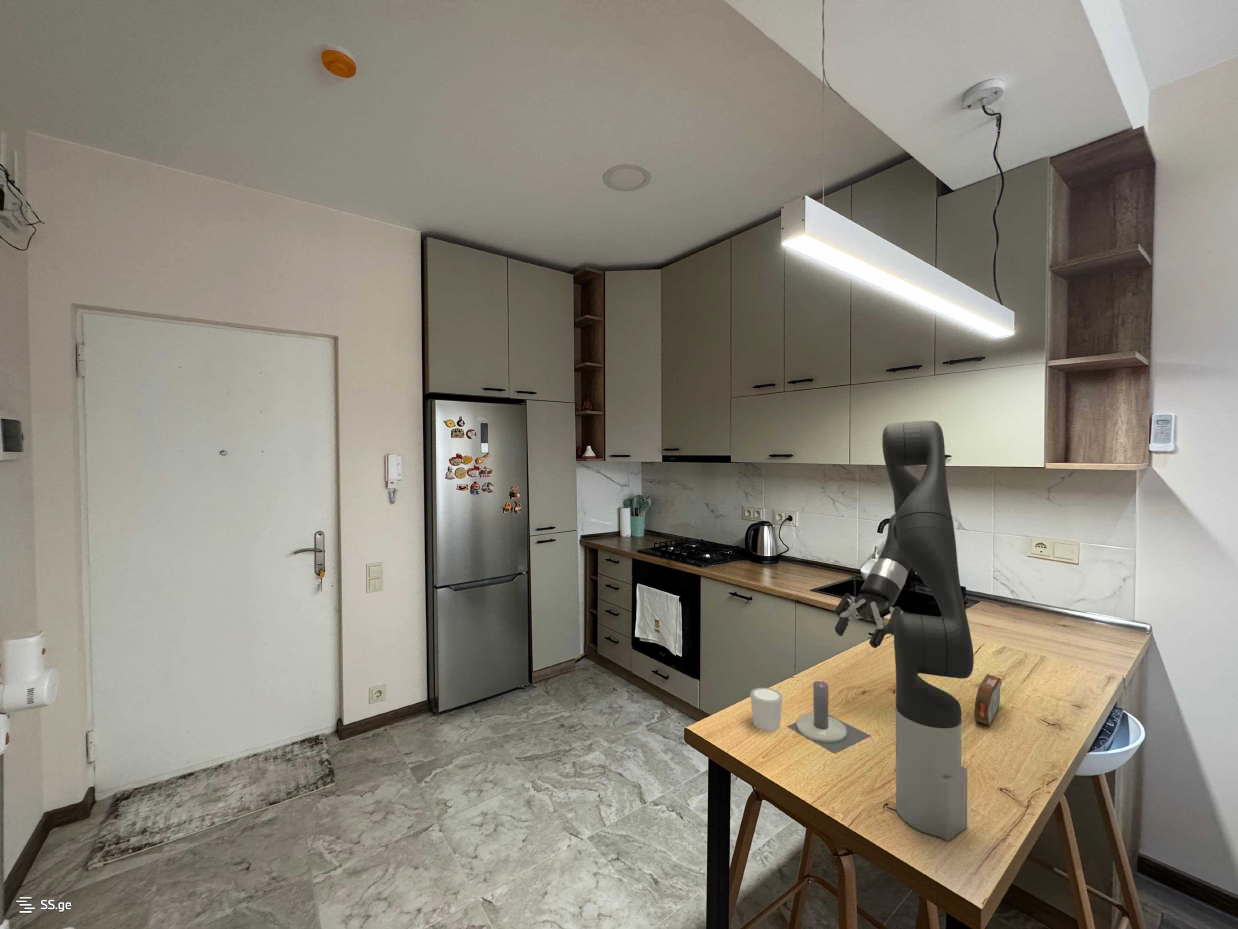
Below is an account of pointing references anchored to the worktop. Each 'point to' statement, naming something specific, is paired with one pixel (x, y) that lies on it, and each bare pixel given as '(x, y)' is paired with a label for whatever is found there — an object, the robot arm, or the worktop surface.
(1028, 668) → the worktop surface
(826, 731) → the peg on round base
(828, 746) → the mat
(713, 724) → the worktop surface
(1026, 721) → the worktop surface
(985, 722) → the tin
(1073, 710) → the worktop surface
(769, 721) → the light grey cylinder
